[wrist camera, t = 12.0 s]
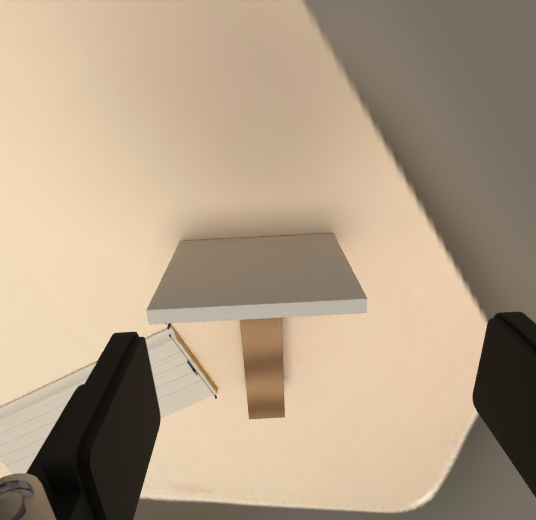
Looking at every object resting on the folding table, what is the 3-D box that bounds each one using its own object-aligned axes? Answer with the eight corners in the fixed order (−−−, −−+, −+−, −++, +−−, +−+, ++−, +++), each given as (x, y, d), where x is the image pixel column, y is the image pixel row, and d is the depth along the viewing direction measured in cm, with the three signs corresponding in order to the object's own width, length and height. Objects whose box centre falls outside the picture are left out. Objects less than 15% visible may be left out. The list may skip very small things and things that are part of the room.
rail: (240, 269, 42) (238, 296, 38) (277, 267, 42) (280, 293, 38) (249, 384, 49) (249, 419, 44) (281, 382, 49) (284, 417, 44)
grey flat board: (-40, 411, 51) (25, 468, 55) (-56, 429, 48) (13, 487, 53) (166, 313, 46) (218, 385, 50) (160, 327, 43) (216, 401, 48)
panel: (180, 240, 42) (146, 310, 29) (333, 233, 42) (367, 298, 29) (186, 284, 44) (157, 367, 31) (332, 276, 44) (363, 356, 31)
